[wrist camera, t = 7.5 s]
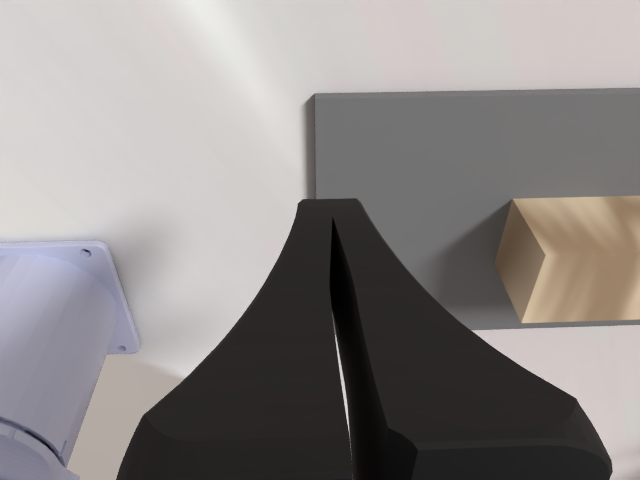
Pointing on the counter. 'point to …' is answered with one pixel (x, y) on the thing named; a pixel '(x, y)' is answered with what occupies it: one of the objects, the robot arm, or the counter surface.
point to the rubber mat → (472, 176)
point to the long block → (572, 258)
